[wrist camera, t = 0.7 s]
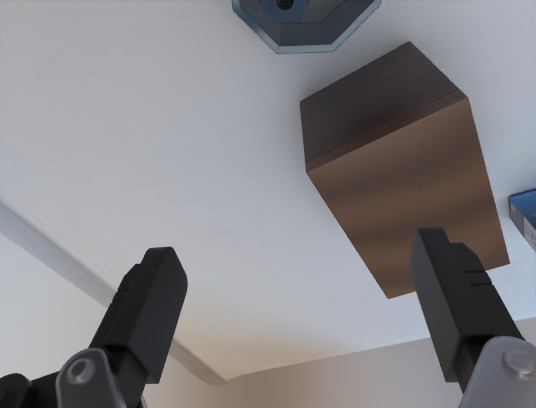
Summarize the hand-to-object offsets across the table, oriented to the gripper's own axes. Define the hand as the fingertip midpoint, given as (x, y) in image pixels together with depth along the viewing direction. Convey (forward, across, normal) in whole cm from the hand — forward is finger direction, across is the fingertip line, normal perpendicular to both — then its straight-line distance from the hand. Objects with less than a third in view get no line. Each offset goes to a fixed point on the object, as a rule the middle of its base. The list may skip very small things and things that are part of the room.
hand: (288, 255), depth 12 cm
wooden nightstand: (+22, -8, +9) cm, 25 cm away
